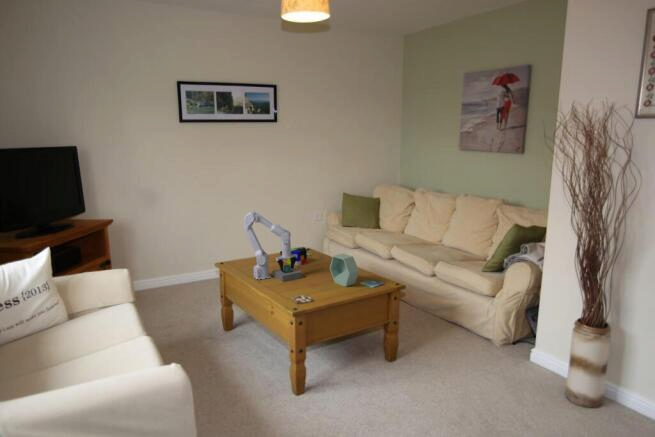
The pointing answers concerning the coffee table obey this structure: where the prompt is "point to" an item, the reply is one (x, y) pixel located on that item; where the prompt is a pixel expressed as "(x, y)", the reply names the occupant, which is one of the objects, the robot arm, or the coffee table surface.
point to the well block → (287, 275)
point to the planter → (344, 269)
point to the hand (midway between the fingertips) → (287, 269)
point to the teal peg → (287, 268)
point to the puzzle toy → (299, 256)
